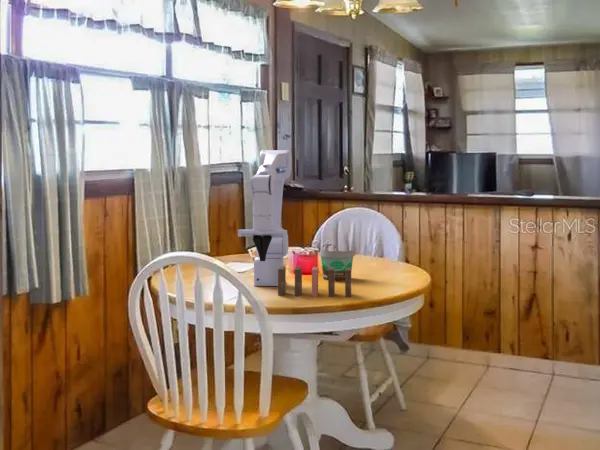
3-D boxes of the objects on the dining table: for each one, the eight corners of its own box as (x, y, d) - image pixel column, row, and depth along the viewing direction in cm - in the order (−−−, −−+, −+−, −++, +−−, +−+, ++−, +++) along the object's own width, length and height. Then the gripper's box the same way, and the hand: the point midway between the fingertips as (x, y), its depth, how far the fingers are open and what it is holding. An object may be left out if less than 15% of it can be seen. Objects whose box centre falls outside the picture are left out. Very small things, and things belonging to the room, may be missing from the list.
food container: (323, 282, 233) (323, 252, 232) (318, 279, 239) (319, 249, 238) (359, 281, 235) (359, 251, 234) (354, 277, 241) (354, 248, 240)
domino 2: (294, 295, 211) (294, 269, 210) (296, 292, 216) (296, 266, 215) (300, 296, 211) (300, 269, 210) (301, 292, 216) (301, 266, 215)
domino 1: (278, 295, 212) (278, 269, 211) (280, 292, 217) (280, 266, 216) (283, 295, 212) (283, 269, 211) (285, 292, 217) (285, 266, 216)
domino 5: (345, 297, 210) (345, 270, 209) (345, 293, 215) (346, 267, 214) (350, 297, 210) (350, 270, 209) (351, 293, 215) (351, 267, 214)
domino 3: (311, 296, 211) (311, 269, 210) (312, 293, 216) (312, 266, 215) (317, 296, 211) (317, 269, 210) (318, 293, 216) (318, 267, 215)
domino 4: (328, 296, 210) (328, 270, 209) (329, 293, 215) (329, 267, 214) (333, 296, 210) (333, 270, 209) (334, 293, 215) (334, 267, 214)
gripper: (235, 216, 207) (236, 262, 209) (285, 216, 206) (285, 263, 207) (240, 214, 214) (240, 258, 216) (287, 214, 213) (288, 259, 214)
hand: (262, 260), depth 212 cm, fingers closed
